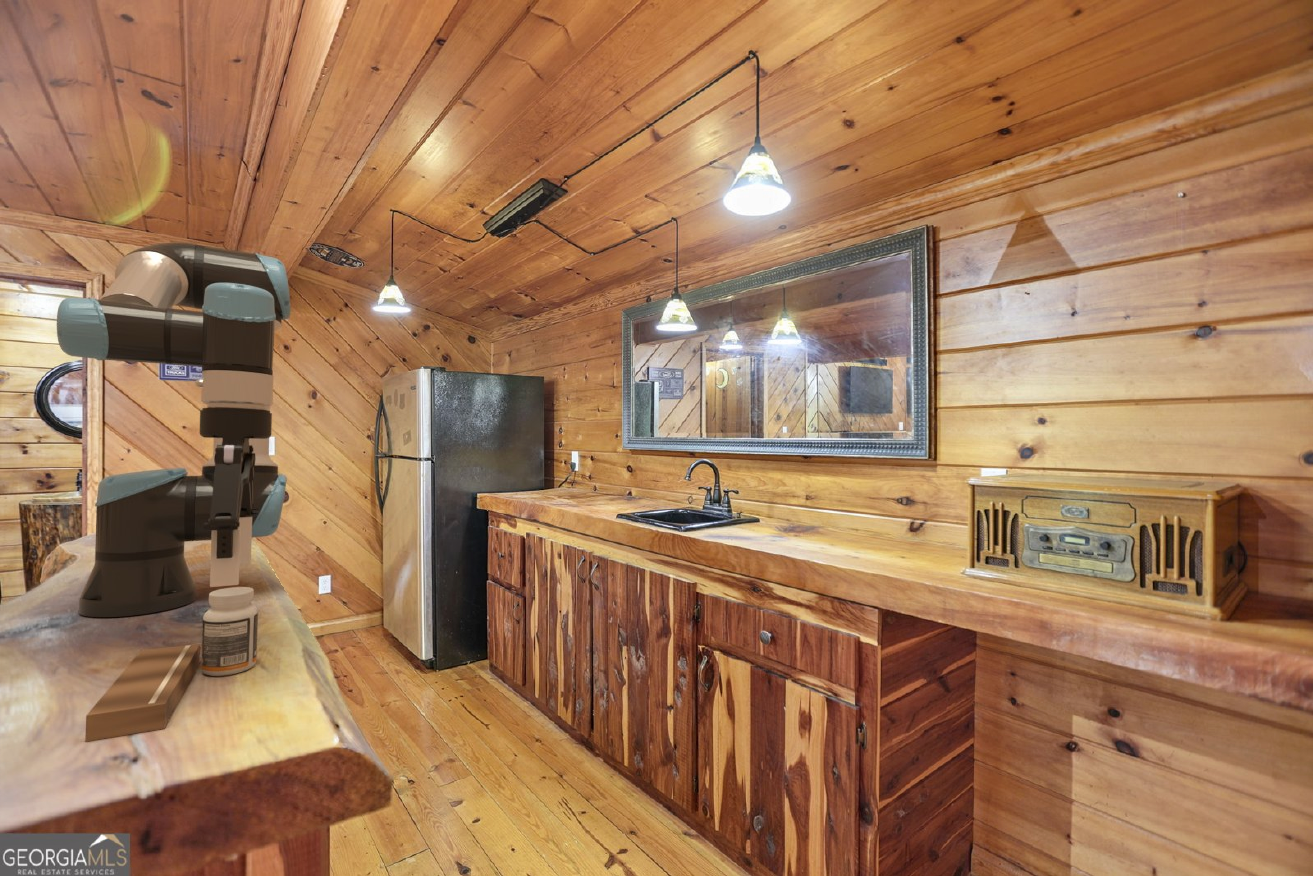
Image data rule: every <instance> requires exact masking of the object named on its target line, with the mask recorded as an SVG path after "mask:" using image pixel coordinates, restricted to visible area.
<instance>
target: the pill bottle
mask: <svg viewBox="0 0 1313 876" xmlns="http://www.w3.org/2000/svg"><path fill="white" fill-rule="evenodd" d="M254 595H255V590H254V588H253V587H250V586H234V587H226V588H220V589H216V590H213V591H210V592H209V594H208V604H209V606H210V608H209V609H208V610H207V611H206V612H205V613H203V617H202V628H201V629H202V631H201V632H202V633H201V671H202V673H203V674H204V675H207V676H211V677H221V676H222V677H223V676H231V675H234V674H239V673H243V672H245V671H247V670H250V669H252V667H253V666H255V664H256V663H257V654H258V650H257V649H258V647H257V646H258V618H259V611H258V607H256V606H255V605H254V604H252V601H253V600H254V598H255V596H254Z"/></svg>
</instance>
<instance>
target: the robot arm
mask: <svg viewBox="0 0 1313 876" xmlns="http://www.w3.org/2000/svg"><path fill="white" fill-rule="evenodd" d="M287 274H288V273H287V270H286V267H285V265H284V263H283V262H282V260H280V259H279V258H276V257H271V256H267V255H263V254H259V253H257V252H254V253H250V252H245V251H240V250H234V249H226V248H221V247H214V246H208V245H201V244H197V243H192V242H182V241H181V242H179V241H175V242H162V243H155V244H150V245H147V246H144V247H140V248H137V249H135V250H133V251H130V252H129V253H126V254H125V255H124V256H123V257H122V258H121V259H120V260H119V262H118V263H117V265H116V267H115V270H114V281H113V282H112V283H111V285H110V286H108V288H107V290H106V291H105V292H104V293H103V294H102V295H101V297H100V298H99V299H96V298H95V297H86V298H85V297H72V296H70V297H66V298H64V299H62V301H61V302H60V303H59V305H58V309H57V313H56V314H57V315H56V337H57V341H58V345H59V348H60V350H62V352H64V353H65V354H66V355H68V356H71V357H77V358H84V359H85V358H86V359H95V360H97V361H114V362H115V361H119V362H132V363H148V364H149V363H150V364H160V365H161V364H164V365H174V366H175V365H177V366H186V367H187V366H189V367H190V366H191V367H201V376H202V378H198V379H196V381H194V385H195V386H196V387H198V388H201V395H200V400H201V401H200V402H201V403H203V404H205V405H206V407H202V408H201V410H200V411H199V434H200V436H201V437H202V438H204V439H205V438H209V439H213V449H212V456H211V458H209V459H208V460H207V461H206V462H204V464H203V465H202V466H201V468H202V469H201V475H188V473H189V472H188V471H187V469H186V468H185V467H174V468H162V469H152V470H143V471H134V472H126V473H125V472H124V473H118V474H113V475H108V476H106V477H104V478H103V479H101V481H100V482H99V483H98V487H97V495H96V502H95V503H94V506H95V507H96V510H95V511H96V515H95V518H96V519H95V520H96V521H95V547H94V549H95V553H94V554H95V555H94V565H93V567H92V570H91V572H90V574H89V576H88V579H87V581H86V584H85V586H84V588H83V590H82V592H81V595H80V597H79V600H78V614H79V615H81V616H84V617H91V618H118V617H131V616H139V615H146V614H152V613H158V612H163V611H168V610H172V609H176V608H180V607H183V606H186V605H189V604H191V603H193V602H194V601H196V600H195V599H196V585H195V582H194V580H193V577H192V575H191V572H190V570H189V567H188V564H187V562H186V559H185V542H199V541H210V542H211V543H210V568H209V569H210V570H209V571H210V572H209V587H210V588H216V587H227V586H229V587H230V586H238V585H239V584H240V567H241V566H251V565H252V539H253V538H260V537H261V538H262V537H269V536H271V535H273V534H275V533H276V531H277V530H278V528H279V525H280V520H281V516H282V512H283V507H284V500H285V495H286V487H287V486H286V485H287V481H288V480H287V479H288V478H287V476H286V475H284V474H282V473H279V465H278V464H277V463H276V462H275V461H274V460H272V459H271V457H270V438H271V436H272V425H273V424H272V423H273V419H272V418H273V413H271V406H273V404H274V403H273V401H274V400H273V399H274V377H275V376H274V373H273V367H274V366H273V365H274V350H275V349H274V346H275V345H274V344H275V332H277V331H279V330H280V329H281V328H282V320H283V321H286V320H288V319H290V317H291V300H290V299H291V295H290V288H289V280H288V275H287ZM174 306H175V307H184V308H192V309H196V310H190V309H179V308H173V307H174ZM198 310H201V311H198Z"/></svg>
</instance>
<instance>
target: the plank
mask: <svg viewBox="0 0 1313 876" xmlns="http://www.w3.org/2000/svg"><path fill="white" fill-rule="evenodd" d="M201 646H202V643H195V644H186V645H177V646H169V647H159V648H149V649H142V650H140V651H139V652H138V653H137V654H136V656H135V657H134V658H133V659H132V660H131V661H130V663H129V664H128V665H127V666H126V668H125V669H124V670H123V671H122V673H120V675H119V676H118V677H117V678H116V679H115V681H114V682H113V683H112V684H111V686H110V687H109V688H108V689H107V690H106V691H105V693H103V695H102V696H101V697H100V699H99V700H98V701H97V702H96V703H95V704H94V706H93V707H92V708H91V709H90V710H89V712H88V713H87V714H86V715H85V735H84V736H85V737H84V738H85V739H84V740H85V743H86V742H87V743H88V742H91V741H97V740H98V739H99V740H102V739H104V738H105V739H109V738H110V739H111V738H115V737H121V736H127V735H133V734H140V733H146V732H152V731H159V730H164V729H166V728H167V725H168V723H169V721H170V720H171V717H172V716H173V714H174V712H175V710H176V708H177V707H178V704H179V703H180V700H181V699H182V697H183V695H184V693H185V692H186V689H187V688H188V686H189V684H190V682H191V680H192V679H193V676H194V675H195V673H196V670H197V669H198V667H199V666H200V664H201Z"/></svg>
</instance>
